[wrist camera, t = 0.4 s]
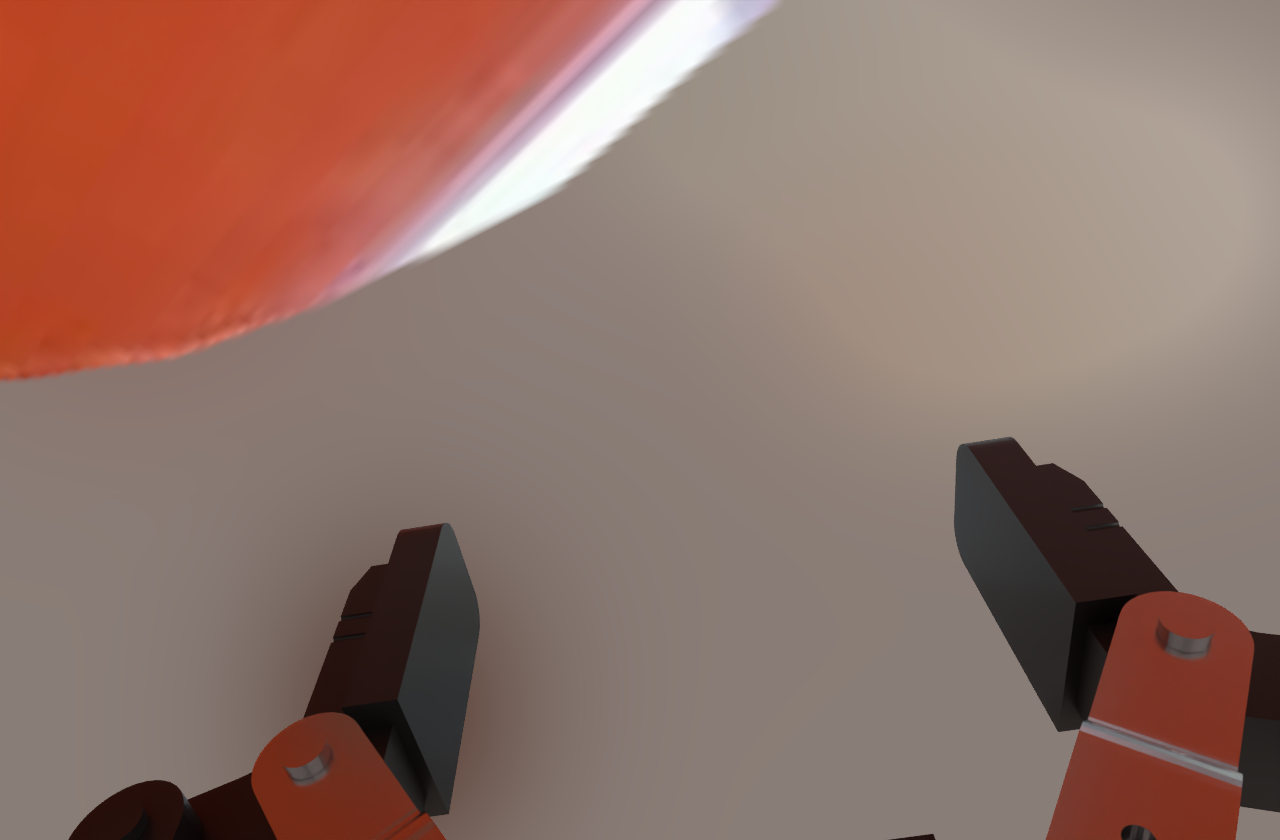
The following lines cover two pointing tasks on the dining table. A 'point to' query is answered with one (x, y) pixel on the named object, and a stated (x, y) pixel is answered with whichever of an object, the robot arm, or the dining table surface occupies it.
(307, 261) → the dining table surface
